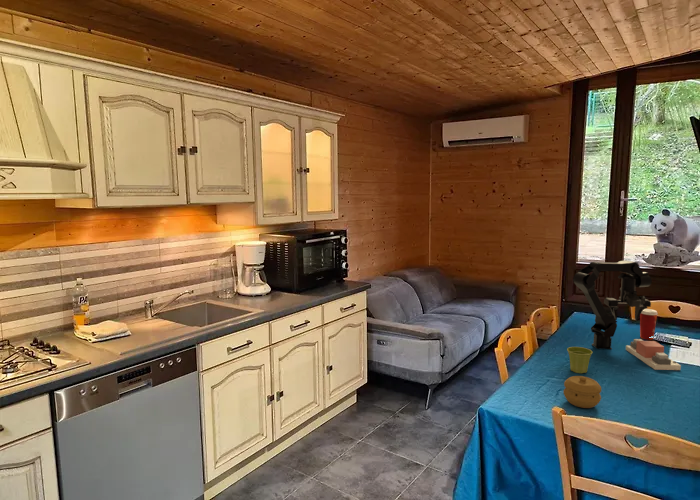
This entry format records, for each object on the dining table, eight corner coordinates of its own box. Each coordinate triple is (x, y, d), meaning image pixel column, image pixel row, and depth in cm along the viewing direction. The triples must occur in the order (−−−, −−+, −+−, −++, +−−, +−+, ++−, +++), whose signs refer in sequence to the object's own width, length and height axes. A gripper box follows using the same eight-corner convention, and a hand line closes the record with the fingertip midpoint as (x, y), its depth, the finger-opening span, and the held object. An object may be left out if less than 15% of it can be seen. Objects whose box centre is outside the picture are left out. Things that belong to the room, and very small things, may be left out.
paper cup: (659, 340, 233) (661, 312, 231) (643, 340, 233) (645, 312, 231) (649, 335, 241) (651, 308, 239) (634, 335, 241) (636, 308, 239)
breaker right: (659, 360, 197) (660, 355, 197) (655, 357, 201) (655, 352, 200) (667, 360, 197) (668, 355, 197) (663, 357, 200) (663, 352, 200)
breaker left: (637, 345, 215) (637, 341, 215) (633, 343, 218) (633, 338, 218) (644, 345, 215) (644, 341, 215) (640, 343, 218) (641, 339, 218)
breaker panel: (654, 369, 197) (655, 360, 196) (625, 349, 220) (626, 341, 220) (680, 370, 196) (681, 360, 195) (648, 350, 220) (649, 341, 219)
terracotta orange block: (636, 351, 212) (636, 340, 211) (653, 352, 211) (654, 341, 211) (645, 357, 205) (645, 346, 204) (663, 358, 204) (664, 346, 203)
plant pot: (565, 372, 194) (566, 352, 193) (566, 365, 202) (567, 345, 201) (591, 376, 190) (592, 355, 189) (591, 368, 198) (592, 348, 197)
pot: (604, 414, 159) (606, 385, 158) (565, 410, 162) (567, 381, 161) (596, 399, 170) (598, 372, 169) (560, 395, 173) (562, 369, 172)
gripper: (615, 291, 216) (613, 324, 218) (658, 291, 215) (656, 325, 217) (604, 286, 227) (602, 318, 229) (645, 286, 226) (643, 318, 228)
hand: (625, 320), depth 225 cm, fingers open, 9 cm apart
